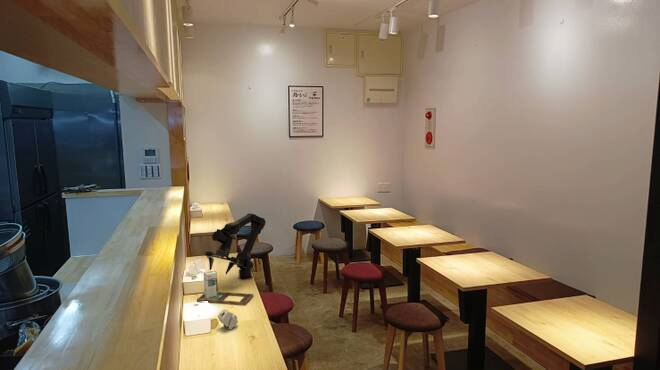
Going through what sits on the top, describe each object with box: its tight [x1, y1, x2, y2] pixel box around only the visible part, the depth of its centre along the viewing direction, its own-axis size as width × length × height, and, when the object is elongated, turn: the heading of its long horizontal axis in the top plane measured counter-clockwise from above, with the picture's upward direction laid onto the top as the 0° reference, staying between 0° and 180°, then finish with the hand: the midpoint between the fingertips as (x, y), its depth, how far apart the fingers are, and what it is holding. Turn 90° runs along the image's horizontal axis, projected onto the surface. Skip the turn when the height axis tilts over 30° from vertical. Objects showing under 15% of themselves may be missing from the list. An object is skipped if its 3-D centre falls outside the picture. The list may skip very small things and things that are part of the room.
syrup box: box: [202, 269, 219, 299], centre depth 234 cm, size 6×6×14 cm
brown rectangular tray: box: [196, 291, 255, 306], centre depth 233 cm, size 27×12×2 cm, turn 79°
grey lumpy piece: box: [217, 308, 239, 330], centre depth 200 cm, size 6×7×10 cm
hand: (218, 272), depth 245 cm, fingers open, 9 cm apart
